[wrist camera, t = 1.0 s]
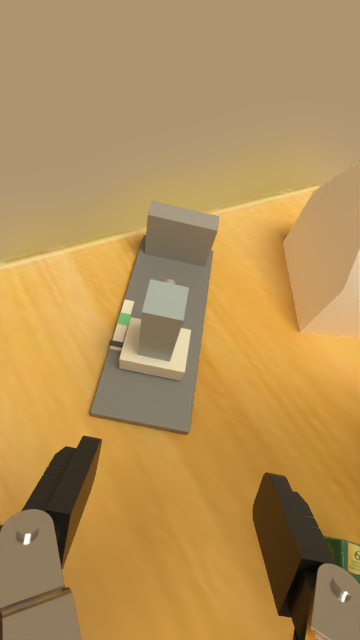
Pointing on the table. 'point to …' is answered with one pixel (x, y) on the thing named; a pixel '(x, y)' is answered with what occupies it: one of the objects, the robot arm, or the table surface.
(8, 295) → the table surface
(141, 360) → the gauge slider
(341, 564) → the coffee box
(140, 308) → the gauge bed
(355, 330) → the white house-shaped block
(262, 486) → the robot arm
